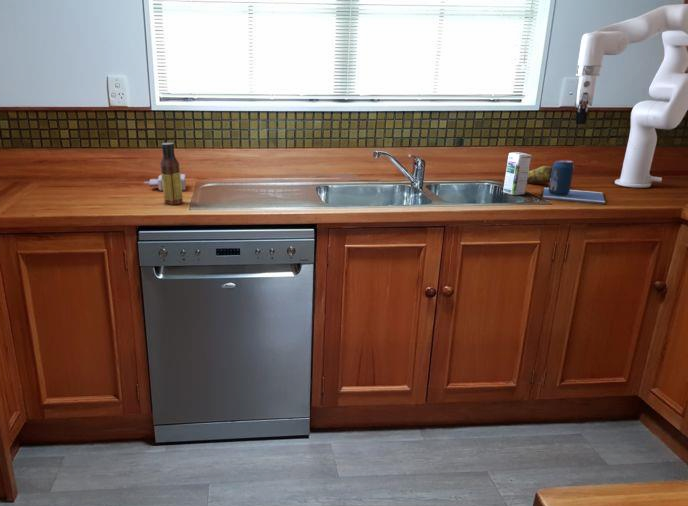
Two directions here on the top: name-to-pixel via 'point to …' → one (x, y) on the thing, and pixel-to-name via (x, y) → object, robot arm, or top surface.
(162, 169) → the sauce bottle
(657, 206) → the top surface
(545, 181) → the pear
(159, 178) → the charger
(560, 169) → the soda can
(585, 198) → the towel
